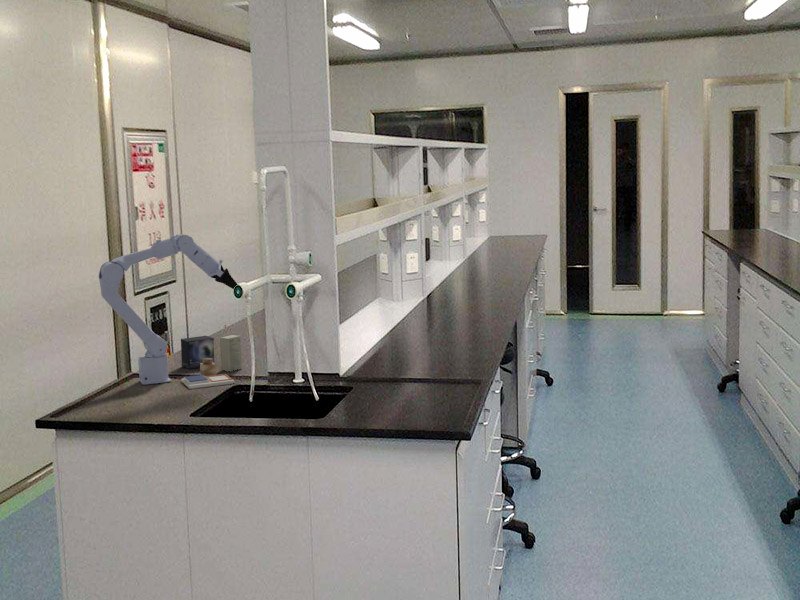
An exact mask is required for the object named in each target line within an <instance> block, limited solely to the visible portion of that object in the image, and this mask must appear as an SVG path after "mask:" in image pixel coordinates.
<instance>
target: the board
mask: <svg viewBox="0 0 800 600" xmlns="http://www.w3.org/2000/svg"><path fill="white" fill-rule="evenodd" d="M181 383H183V385H185V386H186V387H187V388H188V389H189V390H191V389H193V390H194V389H199V388H200V389H201V388H209V387H215V386H217V387H218V386H225V385H232V384H233V383H234V384H235V383H236V382H235V380H234V379H233V378H232V377H231V376H229V375H228V374H227V373H221V374H216V375H210V376H204V375H201V374H200V375H199V374H198V375H190V376H185V377H183V378H181Z"/></svg>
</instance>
